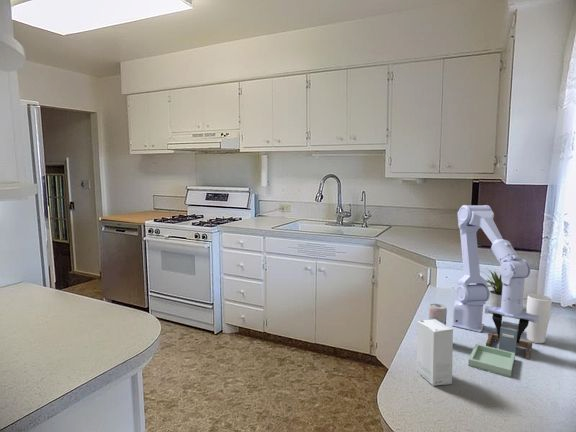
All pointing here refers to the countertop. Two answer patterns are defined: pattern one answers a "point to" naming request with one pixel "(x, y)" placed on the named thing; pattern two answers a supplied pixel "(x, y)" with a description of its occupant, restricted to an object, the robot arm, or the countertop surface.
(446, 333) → the skincare box
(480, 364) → the tray
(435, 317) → the energy drink
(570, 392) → the countertop surface
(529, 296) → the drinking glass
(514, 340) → the grey box with handle
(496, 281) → the house plant
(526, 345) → the frame
